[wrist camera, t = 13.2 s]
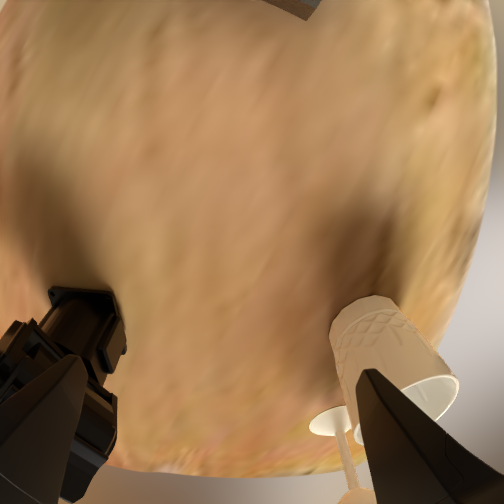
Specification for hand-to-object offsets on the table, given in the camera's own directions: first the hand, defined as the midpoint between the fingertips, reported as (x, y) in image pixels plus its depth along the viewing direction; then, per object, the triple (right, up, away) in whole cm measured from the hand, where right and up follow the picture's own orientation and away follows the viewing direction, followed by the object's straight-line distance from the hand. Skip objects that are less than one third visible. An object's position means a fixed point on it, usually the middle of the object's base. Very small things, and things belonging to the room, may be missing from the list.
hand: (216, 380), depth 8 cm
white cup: (+11, -3, +16) cm, 20 cm away
